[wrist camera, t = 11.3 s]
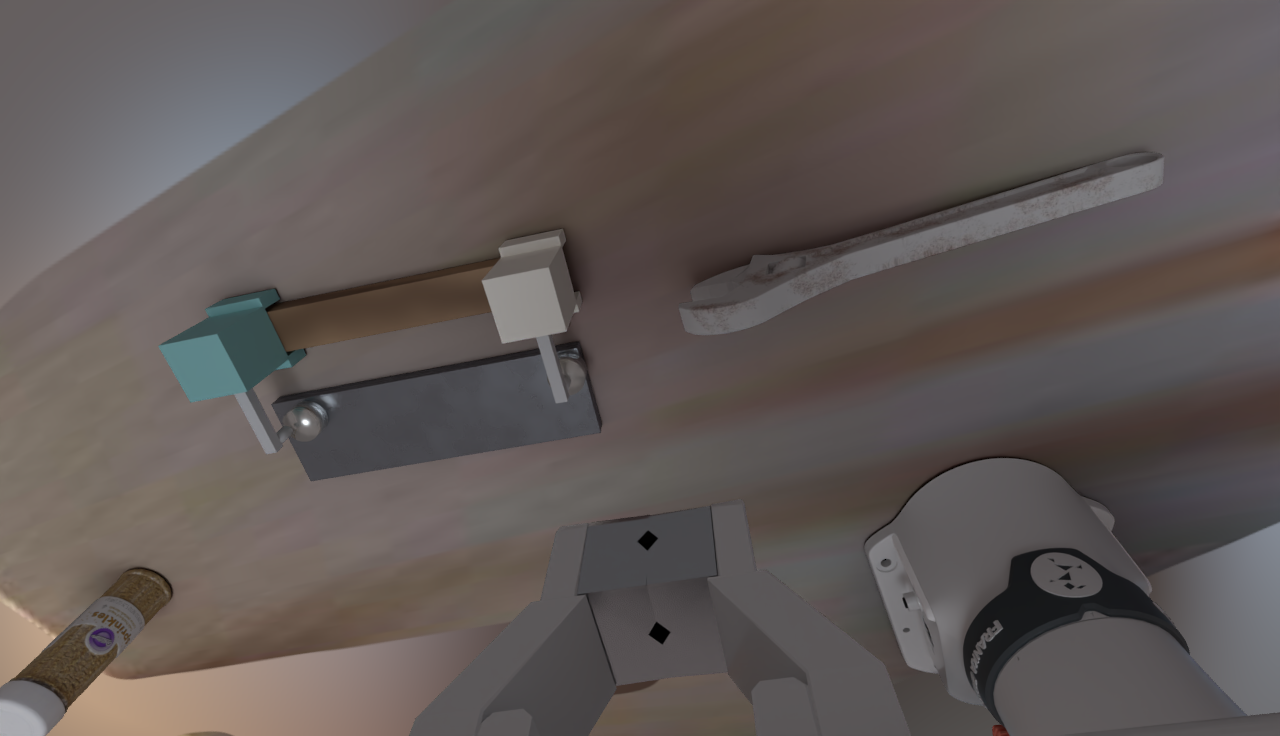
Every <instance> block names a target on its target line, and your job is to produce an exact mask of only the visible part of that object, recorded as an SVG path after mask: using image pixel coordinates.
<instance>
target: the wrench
mask: <svg viewBox="0 0 1280 736" xmlns="http://www.w3.org/2000/svg"><path fill="white" fill-rule="evenodd" d="M1163 174H1164V156H1163V155H1162V154H1160V153H1155V152H1142V153H1134V154H1128V155H1125V156H1121V157H1117V158H1113V159H1110V160H1106V161H1102V162H1099V163H1096V164H1093V165H1089V166H1086V167H1083V168H1079V169H1076V170H1073V171H1070V172H1067V173H1063V174H1060V175H1057V176H1054V177H1051V178H1048V179H1044V180H1041V181H1038V182H1035V183H1032V184H1028V185H1025V186H1022V187H1019V188H1015V189H1012V190H1009V191H1006V192H1002V193H999V194H996V195H992V196H989V197H986V198H983V199H979V200H976V201H973V202H970V203H966V204H963V205H960V206H957V207H954V208H950V209H947V210H944V211H941V212H937V213H934V214H931V215H928V216H925V217H921V218H918V219H915V220H912V221H908V222H905V223H902V224H899V225H896V226H892V227H889V228H886V229H883V230H879V231H876V232H873V233H869V234H866V235H863V236H859V237H856V238H853V239H849V240H846V241H843V242H839V243H836V244H833V245H828V246H824V247H819V248H814V249H809V250H804V251H797V252H790V253H783V254H776V255H753V257H752V259H751V262H750V264H749V265H746V266H742V267H739V268H736V269H733V270H729V271H726V272H724V273H721V274H719V275H716V276H714V277H711V278H709V279H707V280H705V281H702V282H700V283H698V284H696V285H695V286H694V287H693V288H692V290H691V291H690V293H691V297H692V302H686V303H680V304H679V311H680V315H681V318H682V322H683V325H684V329H685V331H686V332H689V333H692V334H696V335H716V334H728V333H732V332H736V331H740V330H744V329H748V328H751V327H754V326H756V325H759V324H762V323H764V322H766V321H768V320H769V319H771V318H773V317H775V316H777V315H779V314H781V313H782V312H784V311H786V310H788V309H790V308H792V307H794V306H796V305H798V304H800V303H802V302H804V301H805V300H807V299H810V298H812V297H814V296H816V295H819V294H821V293H823V292H825V291H828V290H830V289H832V288H834V287H837V286H839V285H841V284H843V283H846V282H848V281H850V280H853V279H856V278H859V277H863V276H866V275H869V274H873V273H876V272H879V271H883V270H886V269H889V268H893V267H896V266H899V265H903V264H906V263H909V262H913V261H916V260H919V259H923V258H926V257H929V256H933V255H936V254H939V253H943V252H946V251H949V250H953V249H956V248H959V247H963V246H966V245H969V244H973V243H976V242H979V241H983V240H986V239H989V238H993V237H996V236H1000V235H1003V234H1006V233H1010V232H1013V231H1016V230H1020V229H1023V228H1026V227H1030V226H1033V225H1036V224H1040V223H1043V222H1046V221H1050V220H1053V219H1056V218H1060V217H1063V216H1066V215H1070V214H1073V213H1076V212H1080V211H1083V210H1086V209H1090V208H1093V207H1096V206H1100V205H1103V204H1106V203H1110V202H1113V201H1116V200H1120V199H1123V198H1126V197H1130V196H1133V195H1136V194H1139V193H1143V192H1146V191H1150V190H1152V189H1155V188H1157V187H1159V186H1161V185H1162V183H1163Z"/></svg>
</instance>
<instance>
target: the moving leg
mask: <svg viewBox="0 0 1280 736" xmlns="http://www.w3.org/2000/svg"><path fill="white" fill-rule="evenodd" d="M278 300H280V298H279V296H278V294H277V292H276V290H275V289H271V290H266V291H261V292H256V293H251V294H247V295H242V296H237V297H232V298H227V299H223V300H221V301H219V302H217V303H215V304H214V305H212V306H210V307H208V308H206V309H205V310H206V312H207V314H208V316H209V318H207V319H205V320H204V321H202V322H200V323H198V324H196V325H195V326H193V327H191V328H189V329H187V330H186V331H184V332H182V333H180V334H178V335H177V336H175V337H173V338H171V339H170V340H168V341H166V342H164V343H162V344H161V345H159V348H160V350H161V352H162V353H163V355H164V357H165V359H166V360H167V362H168V364H169V366H170V367H171V369H172V371H173V373H174V374H175V376H176V378H177V379H178V381H179V383H180V385H181V386H182V388H183V390H184V392H185V393H186V395H187V397H188V399H189V400H190V402H195V401H201V400H206V399H211V398H216V397H222V396H227V395H232V394H234V395H235V397H236V399H237V401H238V403H239V404H240V406H241V408H242V410H243V412H244V414H245V416H246V417H247V419H248V421H249V423H250V425H251V427H252V429H253V430H254V432H255V434H256V436H257V438H258V440H259V442H260V443H261V445H262V447H263V449H264V451H265V453H266V454H270V453H276V452H278V451H279V450H280V449H281V448H282V447H283V445H282V444H283V443H284V442H285V441H286V440H287V439H288V438H289V437H290V436H291V435H292V433H293V430H292V428H291V427H289V426H283V427H282V428H281V429H280V430H279V431H278V432H277V433H276V432H275V430H274V428H273V426H272V424H271V422H270V420H269V418H268V417H267V415H266V413H265V411H264V409H263V407H262V405H261V403H260V401H259V399H258V397H257V395H256V394H255V392H254V390H253V387H254V386H255V385H257V384H258V383H259V382H260V381H262V380H263V379H264V378H265V377H267V376H268V375H269V374H270V373H272V372H273V371H274V370H279V369H284V368H289V367H293V366H294V365H295V364H296V363H298V362H299V361H300V360H301V359H302V358H304V357H305V356H306V353H305V351H304V349H298V350H293V351H288V352H286V351H285V349H284V347H283V345H282V343H281V341H280V339H279V337H278V335H277V333H276V331H275V329H274V327H273V324H272V322H271V320H270V318H269V316H268V314H267V312H266V310H265V308H267V307H268V306H270V305H271V304H273V303H275V302H276V301H278Z"/></svg>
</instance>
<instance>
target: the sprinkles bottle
mask: <svg viewBox="0 0 1280 736" xmlns="http://www.w3.org/2000/svg"><path fill="white" fill-rule="evenodd" d="M170 599H171V589H170V587H169V585H168V584H167V583H166V581H165V580H164V579H163V578H162V577H160V576H159V575H157V574H156V573H154V572H152V571H148V570H145V569H133V570H130V571H127V572H125V573H123V574H122V575H121V577H120V578H119V580H118V581H117V582H116V583H115V584H114V585H113V586H112V587H111V588H110V589H108V590H107V591H106V592H105V593H104V594H103V595H102V596H101V597H100V598H99V599H97V600H96V601H95V602H93V603H92V604H91V605H90V606H89V607H88V608H87V609H86V610H85V611H84V612H83V613H82V614H81V615H80V616H79V617H78V618H77V619H76V620H75V621H73V622H72V623H71V624H70V625H69V626H68V627H67V628H66V629H65V630H64V631H63V632H62V633H61V634H60V635H58V636H57V637H56V638H55V639H54V640H53V641H52V642H51V643H50V644H49V645H48V646H47V647H46V648H45V649H44V650H43V651H42V652H41V654H40V655H39V656H38V657H36V658H35V659H34V660H33V661H32V662H31V663H30V664H29V665H28V666H27V667H26V668H25V669H23V670H22V671H21V672H20V673H19V674H18V675H17V676H16V677H15V678H13V679H11V680H10V681H9V682H8V683H6V684H4V685H3V686H2V687H1V688H0V736H46V735H47V734H48V733H49V732H50V730H51V729H52V728H53V727H54V726H55V725H56V724H57V723H58V722H59V721H60V720H61V719H62V718H63V716H64V714H65V713H66V712H67V709H68V707H69V706H70V705H71V704H72V703H73V702H74V701H75V700H76V699H77V697H78V696H80V695H81V694H82V693H83V692H84V690H85V689H87V688H88V686H89V685H90V684H91V683H92V682H93V681H94V680H95V679H96V678H97V677H98V676H99V675H100V674H101V673H102V672H103V671H104V670H105V668H106V667H107V666H108V665H109V664H110V663H111V662H112V661H113V660H114V659H115V658H116V657H118V656H119V654H120V653H121V652H122V651H123V650H124V649H125V648H126V647H127V646H128V645H129V644H130V643H131V642H132V640H133V639H134V638H135V637H136V636H137V635H138V634H139V633H140V632H141V631H142V629H143V628H144V626H145V625H146V624H147V623H148V622H149V621H150V620H151V619H152V618H153V617H154V615H155V614H156V613H157V612H158V611H159V610H160V609H161V608H162V607H164V606H165V605H166V604H168V602H169V601H170Z"/></svg>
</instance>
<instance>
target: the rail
mask: <svg viewBox="0 0 1280 736" xmlns="http://www.w3.org/2000/svg"><path fill="white" fill-rule="evenodd" d="M499 259H500V258H497V259H492V260H487V261H482V262H477V263H472V264H468V265H463V266H458V267H453V268H448V269H443V270H438V271H433V272H429V273H424V274H419V275H414V276H409V277H404V278H399V279H394V280H390V281H385V282H380V283H375V284H370V285H365V286H360V287H355V288H351V289H346V290H341V291H336V292H331V293H326V294H321V295H316V296H312V297H307V298H302V299H297V300H292V301H287V302H282V303H277V304H272V305H270V306H268V307H267V308H265V310H266V312H267V314H268V316H269V318H270V320H271V322H272V324H273V327H274V329H275V331H276V333H277V335H278V337H279V339H280V341H281V343H282V345H283V347H284V349H285V351H286V352H288V351H293V350H298V349H304V348H309V347H314V346H319V345H324V344H329V343H334V342H340V341H345V340H350V339H355V338H360V337H365V336H370V335H375V334H381V333H386V332H391V331H396V330H401V329H406V328H411V327H416V326H422V325H427V324H432V323H437V322H442V321H447V320H452V319H458V318H463V317H468V316H473V315H478V314H483V313H488V312H492V311H491V308H490V305H489V302H488V299H487V295H486V292H485V289H484V286H483V283H482V280H483V278H484V277H485V276H486V275H487V274H488V273H489V271H490V270H491V269H492V268H493V267H494V265H495V264H496V263H497V262H498V261H499Z"/></svg>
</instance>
